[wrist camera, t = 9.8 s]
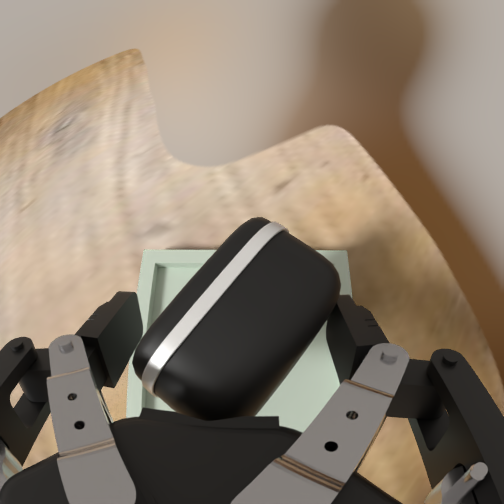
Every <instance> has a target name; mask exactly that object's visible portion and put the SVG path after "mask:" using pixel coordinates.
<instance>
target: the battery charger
mask: <svg viewBox="0 0 504 504" xmlns="http://www.w3.org/2000/svg"><path fill="white" fill-rule="evenodd" d="M340 289H341V282H340V277H339V273H338V271H337V270H336V268H335V267H334V265H333V263H331V262H330V261H329V260H328V259H327V258H325V257H324V256H323V255H322V254H320V253H319V252H317V251H316V250H314V249H313V248H311V247H310V246H308V245H306V244H305V243H303V242H302V241H300V240H299V239H297V238H296V237H294V236H292V235H291V234H289V230H288V229H287V228H285V227H284V226H282V225H281V224H279V223H277V222H270V221H269V220H267V219H265V218H263V217H257V218H251V219H250V220H248V221H247V222H245V223H244V224H242V225H241V226H239V227H238V228H237V229H236V230H235V231H234V232H233V233H232V234H231V235H230V236H229V237H228V238H227V239H226V240H225V242H224V243H223V244H222V245H221V246H220V247H219V248H218V249H217V250H216V251H215V252H214V254H213V255H212V256H211V257H210V258H209V259H208V260H207V261H206V262H205V263H204V265H203V266H202V267H201V268H200V269H199V270H198V271H197V272H196V273H195V275H194V276H193V277H192V278H191V279H190V280H189V281H188V282H187V284H186V285H185V286H184V287H183V288H182V289H181V291H180V292H179V293H178V294H177V295H176V296H175V298H174V299H173V300H172V301H171V302H170V304H169V305H168V306H167V307H166V308H165V309H164V311H163V312H162V313H161V314H160V315H159V317H158V318H157V319H156V320H155V321H154V323H153V324H152V325H151V326H150V328H149V329H148V330H147V332H146V333H145V334H144V336H143V337H142V338H141V340H140V342H139V344H138V346H137V347H136V349H135V352H134V356H133V360H132V364H133V368H134V371H135V374H136V375H137V377H138V378H139V379H140V380H141V381H142V385H143V387H144V388H145V389H146V390H147V391H149V392H150V393H151V394H152V395H153V396H155V397H158V398H160V399H161V400H163V401H164V402H165V403H166V404H167V405H168V406H169V407H170V408H172V409H173V410H174V411H175V412H177V413H180V414H183V415H187V416H190V417H193V418H197V419H200V420H204V421H214V420H222V419H229V418H235V417H241V416H256V415H257V414H258V412H259V411H260V410H261V409H262V407H263V406H264V405H265V404H266V402H267V401H268V400H269V399H270V397H271V396H272V395H273V394H274V392H275V391H276V390H277V388H278V387H279V386H280V385H281V383H282V382H283V381H284V379H285V378H286V377H287V375H288V374H289V373H290V371H291V370H292V369H293V367H294V366H295V365H296V363H297V362H298V361H299V359H300V358H301V356H302V355H303V354H304V352H305V351H306V350H307V348H308V347H309V345H310V344H311V342H312V341H313V340H314V338H315V337H316V335H317V334H318V332H319V331H320V330H321V328H322V327H323V325H324V324H325V322H326V321H327V319H328V317H329V316H330V314H331V312H332V311H333V309H334V307H335V305H336V303H337V301H338V299H339V295H340Z"/></svg>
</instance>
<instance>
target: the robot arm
mask: <svg viewBox="0 0 504 504" xmlns="http://www.w3.org/2000/svg"><path fill="white" fill-rule="evenodd" d="M142 335H143V322H142V317H141V312H140V307H139V301H138V296H137V294H136V293H135V292H122V291H119V292H117V293H116V294H115V296H114V297H113V298H112V299H111V300H110V301H109V302H106V303H105V304H103V305H101V306H100V307H98V308H97V309H96V311H95V312H94V313H93V315H91V316H90V317H89V319H88V320H87V321H86V322H85V323H84V324H83V325H82V327H81V328H80V329H79V330H78V331H77V332H76V334H75V335H64V336H61V337H58V338H56V339H55V340H54V341H52V343H51V344H50V345H49V348H45V349H35V347H34V345H33V342H32V340H31V339H30V338H27V337H19V338H15V339H13V340H11V341H10V342H8V343H7V344H6V345H5V346H4V347H3V348H2V350H1V351H0V504H402V503H401V502H399V501H398V500H396V499H395V498H393V497H392V496H390V495H389V494H387V493H386V492H384V491H383V490H381V489H380V488H378V487H377V486H376V485H374V484H373V483H371V482H370V481H368V480H367V479H366V478H364V477H363V476H362V475H360V474H359V473H357V471H358V470H359V468H360V466H361V465H362V463H363V461H364V459H365V457H366V456H367V454H368V452H369V450H370V448H371V447H372V445H373V443H374V441H375V439H376V437H377V435H378V433H379V431H380V430H381V428H382V426H383V424H384V422H385V420H386V417H387V416H388V417H399V418H408V420H409V423H410V425H411V428H412V431H413V433H414V436H415V439H416V442H417V445H418V448H419V450H420V453H421V456H422V459H423V462H424V465H425V468H426V471H427V475H428V478H429V481H430V484H431V487H432V491H431V492H430V493H429V494H428V495H427V497H426V499H425V503H424V504H504V417H503V415H502V413H501V412H500V410H499V409H498V407H497V405H496V404H495V402H494V401H493V399H492V397H491V396H490V394H489V393H488V391H487V390H486V388H485V387H484V385H483V384H482V382H481V381H480V379H479V378H478V376H477V375H476V373H475V372H474V371H473V369H472V368H471V366H470V365H469V363H468V362H467V361H466V359H465V358H464V357H463V356H462V355H461V354H460V353H458V352H456V351H454V350H451V349H439V350H436V351H435V352H434V353H433V354H432V356H431V359H430V361H425V360H414V359H409V355H408V353H407V352H406V350H404V349H403V348H402V347H400V346H398V345H395V344H391V343H389V341H388V340H387V338H386V336H385V335H384V333H383V331H382V330H381V328H380V327H379V326H378V323H377V322H376V320H375V318H374V317H373V315H372V314H371V312H370V311H369V310H367V309H366V308H364V307H363V306H356V304H355V303H354V301H353V299H352V298H351V296H350V295H349V294H347V295H339V299H338V301H337V303H336V305H335V307H334V309H333V311H332V312H331V314H330V316H329V317H328V319H327V325H326V340H327V344H328V347H329V351H330V354H331V357H332V360H333V363H334V366H335V369H336V373H337V376H338V379H339V382H340V386H339V387H338V389H337V390H336V392H335V393H334V394H333V396H332V397H331V398H330V400H329V401H328V402H327V404H326V405H325V406H324V407H323V409H322V410H321V411H320V413H319V414H318V415H317V416H316V418H315V419H314V420H313V421H312V423H311V424H310V425H309V426H308V427H307V429H306V430H305V431H304V432H300V431H298V430H295V429H292V428H288V427H284V426H279V416H241V417H235V418H229V419H222V420H214V421H204V420H200V419H197V418H193V417H190V416H187V415H183V414H180V413H177V412H174V411H166V410H158V409H151V408H144V407H143V408H142V410H141V413H140V416H139V417H130V418H125V419H121V420H118V421H115V422H113V420H112V417H111V415H110V412H109V410H108V407H107V405H106V402H105V399H104V397H103V394H102V392H101V389H102V387H103V386H105V387H111V388H115V386H116V384H117V382H118V380H119V378H120V377H121V375H122V373H123V371H124V369H125V367H126V365H127V364H128V362H129V360H130V358H131V356H132V354H133V353H134V351H135V349H136V347H137V345H138V343H139V342H140V340H141V338H142ZM18 382H19V384H20V386H21V388H22V390H23V392H24V393H23V395H22V396H21V398H20V399H19V401H18V402H17V404H16V405H15V407H14V408H13V407H12V406H11V403H10V394H11V392H12V391H13V389H14V388H15V387H16V385H17V384H18ZM446 410H447V411H446ZM50 412H51V416H52V422H53V428H54V433H55V438H56V442H57V447H58V451H59V452H58V453H56V454H54V455H52V456H50V457H48V458H46V459H44V460H42V461H40V462H38V463H36V464H34V465H32V466H30V467H28V468H26V469H24V470H22V466H23V464H24V462H25V460H26V458H27V456H28V454H29V452H30V450H31V448H32V446H33V444H34V442H35V440H36V438H37V436H38V434H39V433H40V431H41V429H42V427H43V425H44V423H45V421H46V420H47V418H48V416H49V414H50ZM447 412H448V413H447ZM448 415H449V416H448Z"/></svg>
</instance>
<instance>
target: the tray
mask: <svg viewBox="0 0 504 504" xmlns="http://www.w3.org/2000/svg"><path fill="white" fill-rule="evenodd" d="M215 251H216V250H144V252H143V257H142V263H141V269H140V276H139V282H138V289H137V296H138V301H139V307H140V312H141V317H142V322H143V335H142V337H143V336H144V334H145V333H146V332H147V330H148V329H149V328H150V326H151V325H152V324H153V323H154V321H155V320H156V319H157V318H158V317H159V315H160V314H161V313H162V312H163V311H164V309H165V308H166V307H167V306H168V305H169V304H170V302H171V301H172V300H173V299H174V298H175V296H176V295H177V294H178V293H179V292H180V291H181V289H182V288H183V287H184V286H185V285H186V284H187V282H188V281H189V280H190V279H191V278H192V277H193V276H194V275H195V273H196V272H197V271H198V270H199V269H200V268H201V267H202V266H203V265H204V263H205V262H206V261H207V260H208V259H209V258H210V257H211V256H212V255H213V254H214V252H215ZM316 251H317V252H319V253H320V254H322V255H323V256H324V257H325V258H327V259H328V260H329V261H330V262H331V263H333V265H334V267H335V268H336V270H337V271H338V273H339V277H340V282H341V289H340V295H347V294H349V295H350V296H351V298H352V289H351V280H350V271H349V263H348V255H347V250H316ZM326 325H327V321H326V322H325V324H324V325H323V327H322V328H321V330H320V331H319V332H318V334H317V335H316V337H315V338H314V340H313V341H312V342H311V344H310V345H309V347H308V348H307V350H306V351H305V352H304V354H303V355H302V356H301V358H300V359H299V361H298V362H297V363H296V365H295V366H294V367H293V369H292V370H291V371H290V373H289V374H288V375H287V377H286V378H285V379H284V381H283V382H282V383H281V385H280V386H279V387H278V388H277V390H276V391H275V392H274V394H273V395H272V396H271V397H270V399H269V400H268V401H267V402H266V404H265V405H264V406H263V407H262V409H261V410H260V411H259V412H258V414H257V415H256V416H279V426H284V427H288V428H292V429H295V430H298V431H300V432H304V431H305V430H306V429H307V427H308V426H309V425H310V424H311V423H312V421H313V420H314V419H315V418H316V416H317V415H318V414H319V413H320V411H321V410H322V409H323V407H324V406H325V405H326V404H327V402H328V401H329V400H330V398H331V397H332V396H333V394H334V393H335V392H336V390H337V389H338V387H339V386H340V382H339V379H338V376H337V373H336V369H335V366H334V363H333V360H332V357H331V354H330V351H329V347H328V344H327V340H326ZM138 344H139V343H138ZM137 346H138V345H137ZM134 352H135V351H134ZM133 356H134V353H133V354H132V356H131V358H130V360H129V372H128V388H127V411H126V418H130V417H139V416H140V413H141V410H142V408H143V407H144V408H151V409H158V410H166V411H174V410H173V409H172V408H170V407H169V406H168V405H167V404H166V403H165V402H164V401H163V400H161V399H160V398H158V397H155V396H153V395H152V394H151V393H150V392H149V391H147V390H146V389H145V388H144V387H143V385H142V381H141V380H140V379H139V378H138V377H137V375H136V374H135V371H134V368H133V364H132V360H133ZM174 412H175V411H174Z"/></svg>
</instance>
